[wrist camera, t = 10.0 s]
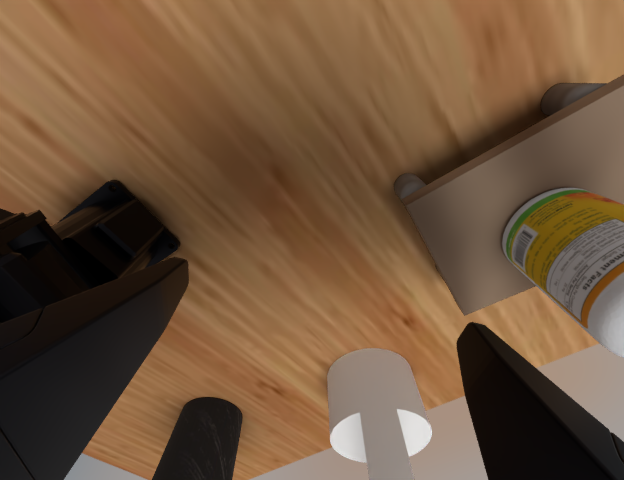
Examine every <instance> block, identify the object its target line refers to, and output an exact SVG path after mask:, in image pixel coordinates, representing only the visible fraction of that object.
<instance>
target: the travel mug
mask: <svg viewBox="0 0 624 480" xmlns="http://www.w3.org/2000/svg"><path fill="white" fill-rule="evenodd" d="M241 425H242V414H241V412H240V410H239V409H238V408H237V407H236V406H235V405H233V404H232V403H230V402H228V401H225V400H222V399H218V398H209V397H207V398H198V399H194V400H192V401H190V402H188V403H187V404H186V405H185V406H184V408H183V410H182V412H181V414H180V416H179V418H178V420H177V423H176V425H175V427H174V430H173V432H172V434H171V437H170V439H169V441H168V444H167V446H166V448H165V451H164V453H163V455H162V458H161V460H160V462H159V464H158V467H157V469H156V471H155V474H154V476H153V478H152V480H232V477H233V471H234V466H235V460H236V454H237V448H238V443H239V437H240V431H241Z"/></svg>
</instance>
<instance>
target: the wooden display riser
mask: <svg viewBox="0 0 624 480" xmlns="http://www.w3.org/2000/svg"><path fill="white" fill-rule="evenodd" d="M541 110H542V112H543V113H544V114H546V115H549V117H547V118H545V119H544V120H542V121H540V122H538V123H536V124H535V125H533V126H531V127H529V128H528V129H526V130H524V131H522V132H520V133H519V134H517V135H515V136H513V137H512V138H510V139H508V140H506V141H504V142H503V143H501V144H499V145H497V146H495V147H494V148H492V149H490V150H488V151H487V152H485V153H483V154H481V155H479V156H478V157H476V158H474V159H472V160H471V161H469V162H467V163H465V164H463V165H462V166H460V167H458V168H456V169H455V170H453V171H451V172H449V173H447V174H446V175H444V176H442V177H440V178H439V179H437V180H435V181H433V182H431V183H430V184H428V185H426V184H425V183H424V182H423V181H422V180H421V179H419V178H418V177H417V176H416V175H415V174H412V173H405V174H403V175H401V176H399V177H398V178H397V180H396V181H395V184H394V190H395V193H396V194H397V195H398V197H399V198H400V199H401V201H402V202H403V203H404V205H405V207H406V209H407V211H408V213H409V215H410V217H411V218H412V220H413V222H414V224H415V226H416V228H417V230H418V232H419V233H420V235H421V237H422V239H423V241H424V243H425V245H426V247H427V249H428V250H429V252H430V254H431V256H432V258H433V260H434V262H435V264H436V269H437V271H438V272H439V274H440V275H441V277H442V278H443V280H444V281H445V283H446V284H447V286H448V288H449V290H450V292H451V294H452V295H453V297H454V299H455V301H456V303H457V305H458V307H459V308H460V310H461V311H462V313H463V314H464V316H465V315H467V314H470V313H472V312H475V311H477V310H479V309H482V308H484V307H487V306H489V305H491V304H494V303H496V302H499V301H501V300H503V299H506V298H508V297H511V296H513V295H515V294H518V293H520V292H523V291H525V290H527V289H530V288H532V287H535V286H536V285H535V284H534V283H533V282H531V281H530V280H529V279H528V278H527V277H526V276H525V275H524V274H523V273H521V272H520V271H519V270H518V269H517V268H516V267H515V266H514V265H513V264H512V263H511V262H510V261H509V260H508V259H507V257H506V256H505V253H504V251H503V247H502V239H503V234H504V231H505V228H506V226H507V224H508V223H509V221H510V220H511V218H512V217H513V215H514V214H515V213H516V212H517V211H518V210H519V209H520V208H521V207H522V206H523V205H525V204H526V203H527V202H529V201H530V200H531V199H533V198H535V197H537V196H539V195H541V194H543V193H545V192H548V191H551V190H555V189H560V188H578V189H583V190H587V191H590V192H592V193H595V194H598V195H601V196H603V197H606V198H609V199H611V200H614V201H616V202H619V203H621V204H624V75H622V76H620V77H618V78H617V79H615V80H613V81H611V82H609V83H560V84H557V85H554V86H553V87H551V88H550V89H549V90H548V91H547V92H546V93H545V95H544V96H543V98H542V101H541Z"/></svg>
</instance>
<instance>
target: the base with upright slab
mask: <svg viewBox="0 0 624 480" xmlns="http://www.w3.org/2000/svg"><path fill="white" fill-rule="evenodd" d="M327 386H328V406H329V426H330V443H331V445H332V447H333V448H334V449H335V451H337V452H338V453H339V454H340V455H342V456H344V457H346V458H348V459H351V460H355V461H358V462H366V463H367V466H368V474H369V480H415V479H414V475H413V471H412V467H411V463H410V459H409V456H412V455H414V454H416V453H417V452H419V451H420V450H422V449H423V448H424V447H425V446H426V445H427V444H428V443H429V441H430V438H431V436H432V430H431V425H430V423H429V420H428V417H427V414H426V411H425V408H424V405H423V402H422V399H421V396H420V393H419V391H418V388H417V385H416V382H415V379H414V376H413V373H412V370H411V367H410V365H409V364H408V362H407V361H406V359H405V358H403V357H402V356H401V355H399V354H397V353H395V352H392V351H390V350H385V349H379V348H366V349H361V350H356V351H353V352H350V353H348V354H345V355H343V356H342V357H340V358H339V359H337V360H336V361H335V362H334V363H333V364H332V366H331V367H330V369H329V371H328V374H327Z"/></svg>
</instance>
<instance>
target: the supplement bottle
mask: <svg viewBox="0 0 624 480" xmlns="http://www.w3.org/2000/svg"><path fill="white" fill-rule="evenodd" d="M502 247H503V251H504V253H505V256H506V257H507V259H508V260H509V261H510V262H511V263H512V264H513V265H514V266H515V267H516V268H517V269H518V270H519V271H520V272H521V273H523V274H524V275H525V276H526V277H527V278H528V279H529V280H530V281H531V282H533V283H534V284H535V285H536V286H537V287H538V288H539V289H540V290H541V291H543V292H544V293H545V294H546V295H547V296H548V297H549V298H550V299H551V300H552V301H554V302H555V303H556V304H557V305H558V306H559V307H560V308H561V309H562V310H564V311H565V312H566V313H567V314H568V315H569V316H570V317H571V318H572V319H573V320H575V321H576V322H577V323H578V324H579V325H580V326H581V327H582V328H583V329H584V330H586V331H587V332H588V333H589V334H590V335H591V336H592V337H593V338H594V339H596V340H597V341H598V342H599V343H600V344H601V345H603V346H604V347H605V348H607V349H608V350H609V351H611V352H613V353H614V354H616V355H618V356H621V357H623V358H624V204H621V203H619V202H616V201H614V200H611V199H609V198H606V197H603V196H601V195H598V194H595V193H592V192H590V191H587V190H583V189H578V188H560V189H555V190H551V191H548V192H545V193H543V194H541V195H539V196H537V197H535V198H533V199H531V200H530V201H529V202H527V203H526V204H525V205H523V206H522V207H521V208H520V209H519V210H518V211H517V212H516V213H515V214H514V215H513V217H512V218H511V220H510V221H509V223H508V224H507V226H506V228H505V231H504V234H503V239H502Z"/></svg>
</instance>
